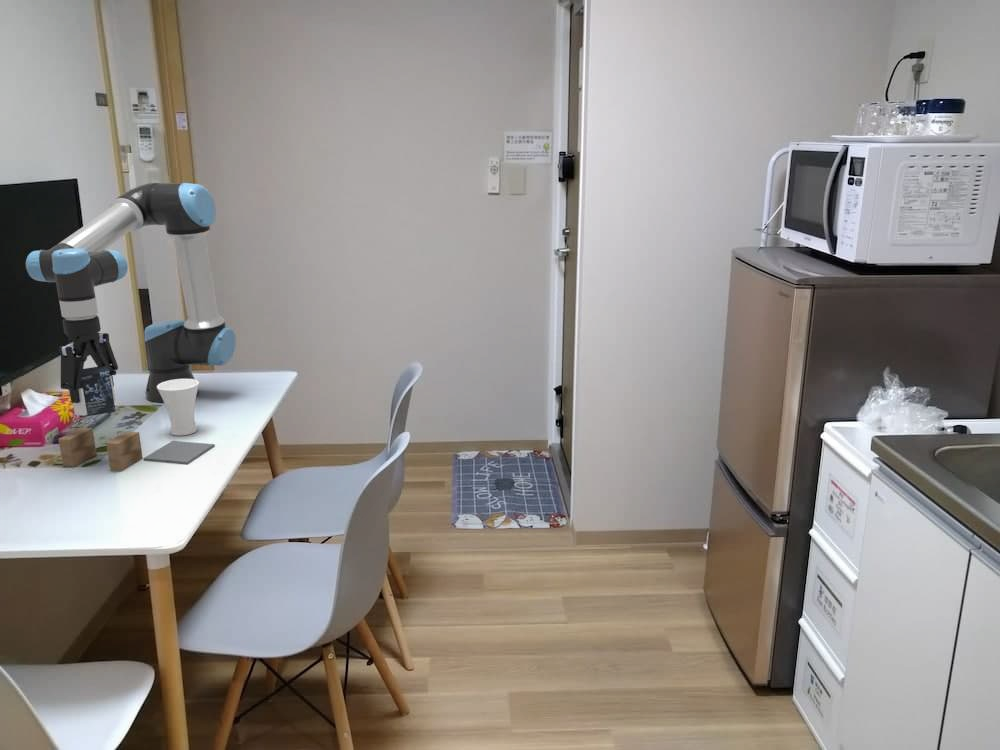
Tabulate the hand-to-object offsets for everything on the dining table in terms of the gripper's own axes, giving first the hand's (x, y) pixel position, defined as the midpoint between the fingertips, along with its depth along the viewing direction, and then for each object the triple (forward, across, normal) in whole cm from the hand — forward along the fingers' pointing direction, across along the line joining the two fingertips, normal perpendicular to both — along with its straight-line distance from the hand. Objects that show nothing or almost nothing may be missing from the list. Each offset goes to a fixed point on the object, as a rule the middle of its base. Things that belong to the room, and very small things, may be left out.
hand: (95, 407), depth 184 cm
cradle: (+14, +1, 0) cm, 14 cm away
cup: (+15, -22, +7) cm, 28 cm away
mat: (+14, -8, +15) cm, 22 cm away
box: (+1, 0, 0) cm, 1 cm away
